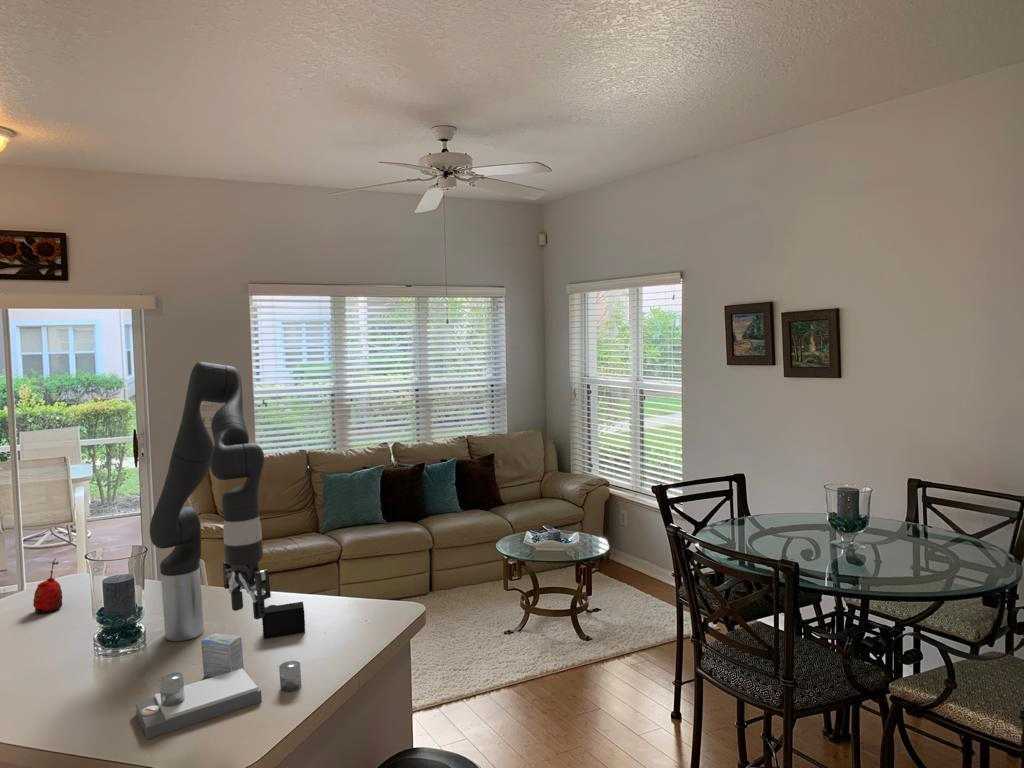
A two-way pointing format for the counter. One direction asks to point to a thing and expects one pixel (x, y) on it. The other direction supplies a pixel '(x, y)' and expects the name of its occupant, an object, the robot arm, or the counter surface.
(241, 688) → the scale
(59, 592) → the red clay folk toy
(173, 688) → the cylinder
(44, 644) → the counter surface
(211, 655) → the medicine box
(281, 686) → the cylinder
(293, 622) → the digital camera
